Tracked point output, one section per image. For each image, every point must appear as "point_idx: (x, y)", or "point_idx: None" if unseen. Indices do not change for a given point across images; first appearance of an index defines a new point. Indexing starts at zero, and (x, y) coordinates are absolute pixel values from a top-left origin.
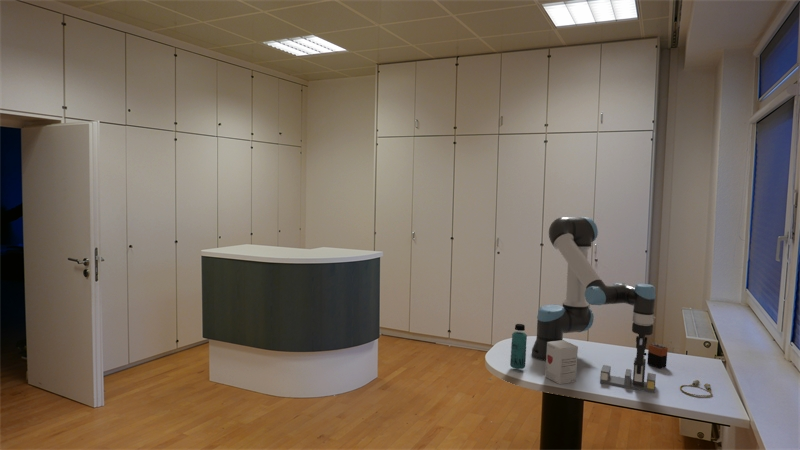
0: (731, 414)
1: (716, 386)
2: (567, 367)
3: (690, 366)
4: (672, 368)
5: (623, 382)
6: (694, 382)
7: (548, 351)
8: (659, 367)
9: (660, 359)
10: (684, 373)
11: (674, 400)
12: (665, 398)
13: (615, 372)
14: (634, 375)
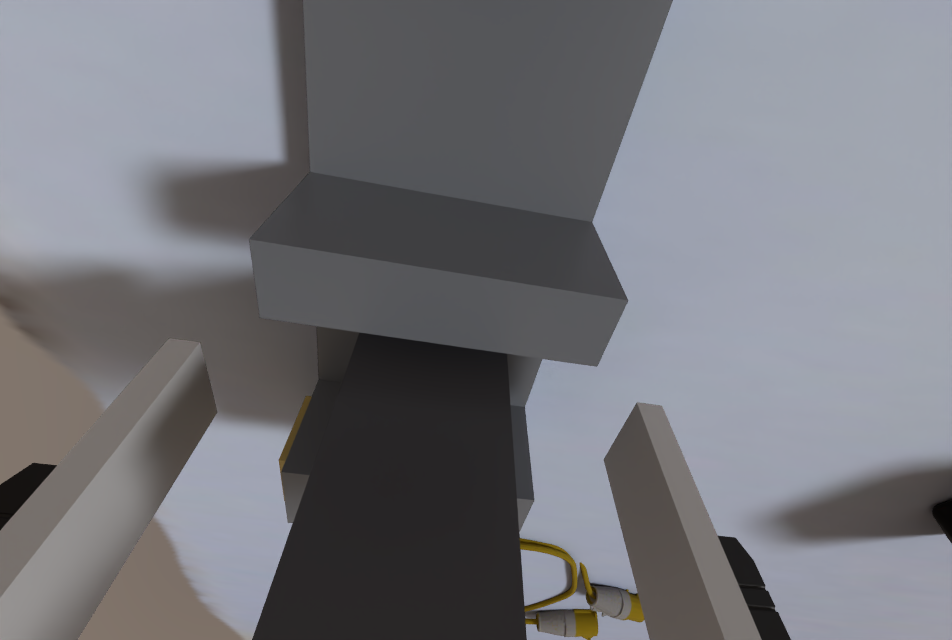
0: (245, 620)
1: (606, 635)
2: None
3: (930, 613)
4: (917, 555)
5: (405, 173)
6: (599, 607)
7: None
8: (942, 513)
9: None
10: (807, 583)
11: (259, 490)
12: (258, 455)
13: (923, 99)
14: (350, 371)
